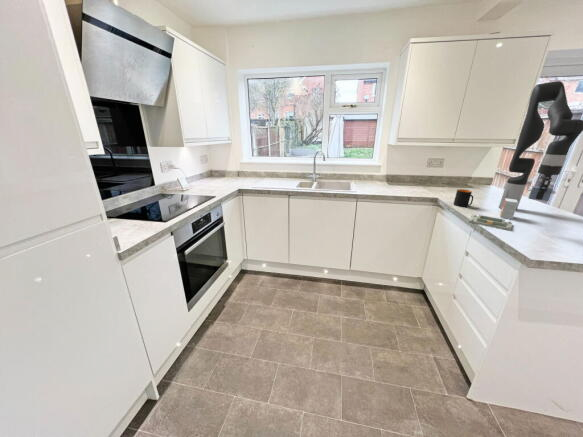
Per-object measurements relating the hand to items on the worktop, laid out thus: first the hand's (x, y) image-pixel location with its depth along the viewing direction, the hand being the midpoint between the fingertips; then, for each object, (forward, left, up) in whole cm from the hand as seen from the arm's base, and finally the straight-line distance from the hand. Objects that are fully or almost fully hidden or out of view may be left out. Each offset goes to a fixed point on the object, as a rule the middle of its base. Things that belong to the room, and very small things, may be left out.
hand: (538, 198), depth 118 cm
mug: (-24, -32, -17) cm, 43 cm away
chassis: (+5, -15, -17) cm, 23 cm away
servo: (0, 0, -1) cm, 1 cm away
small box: (-16, -9, -17) cm, 25 cm away
